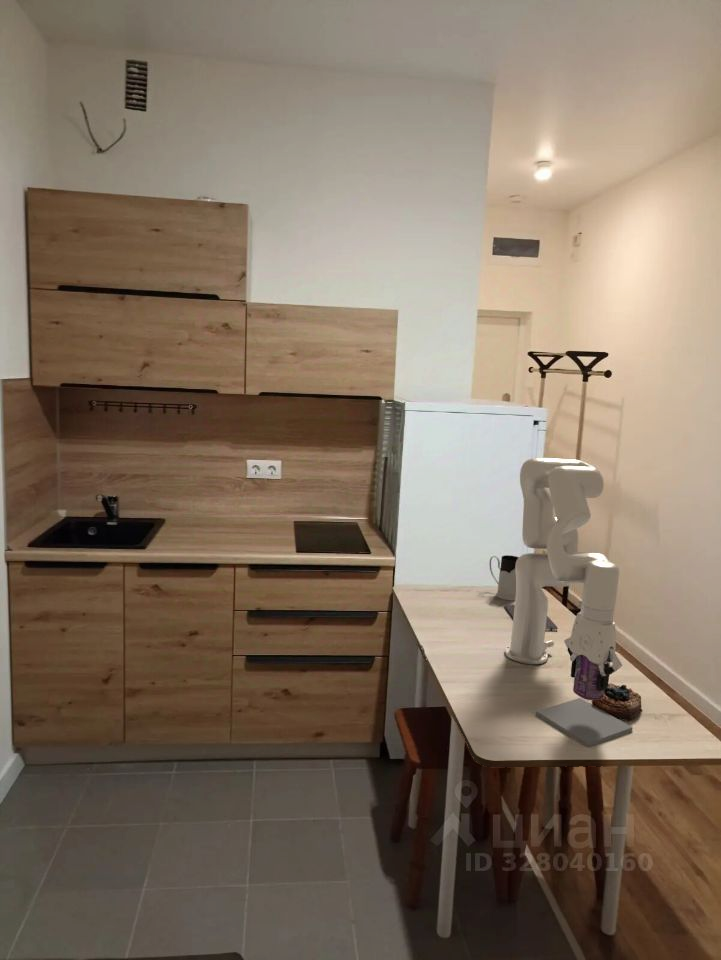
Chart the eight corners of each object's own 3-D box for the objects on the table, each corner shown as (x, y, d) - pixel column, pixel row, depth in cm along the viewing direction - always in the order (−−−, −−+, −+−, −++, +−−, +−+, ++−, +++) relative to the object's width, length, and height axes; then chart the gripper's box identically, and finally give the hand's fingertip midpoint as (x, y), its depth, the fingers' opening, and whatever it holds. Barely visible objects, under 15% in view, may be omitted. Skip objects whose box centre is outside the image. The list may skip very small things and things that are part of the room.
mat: (579, 701, 177) (579, 697, 176) (632, 731, 163) (632, 727, 163) (535, 714, 168) (536, 711, 168) (587, 747, 155) (588, 743, 155)
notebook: (503, 608, 245) (520, 631, 224) (504, 604, 245) (521, 626, 224) (538, 610, 246) (558, 632, 225) (538, 605, 246) (558, 628, 225)
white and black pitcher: (510, 601, 251) (514, 562, 249) (480, 590, 262) (483, 553, 259) (524, 597, 257) (528, 559, 255) (494, 587, 268) (497, 550, 265)
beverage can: (579, 685, 170) (585, 640, 168) (607, 695, 165) (613, 649, 163) (567, 695, 164) (573, 648, 162) (596, 705, 160) (602, 657, 158)
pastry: (645, 708, 175) (648, 687, 174) (630, 725, 166) (633, 703, 165) (603, 694, 182) (606, 673, 181) (586, 709, 173) (589, 688, 172)
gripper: (558, 603, 166) (550, 671, 169) (617, 627, 152) (608, 701, 155) (578, 599, 170) (570, 666, 173) (638, 623, 156) (629, 695, 159)
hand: (588, 682), depth 164 cm, fingers closed on beverage can, 7 cm apart
